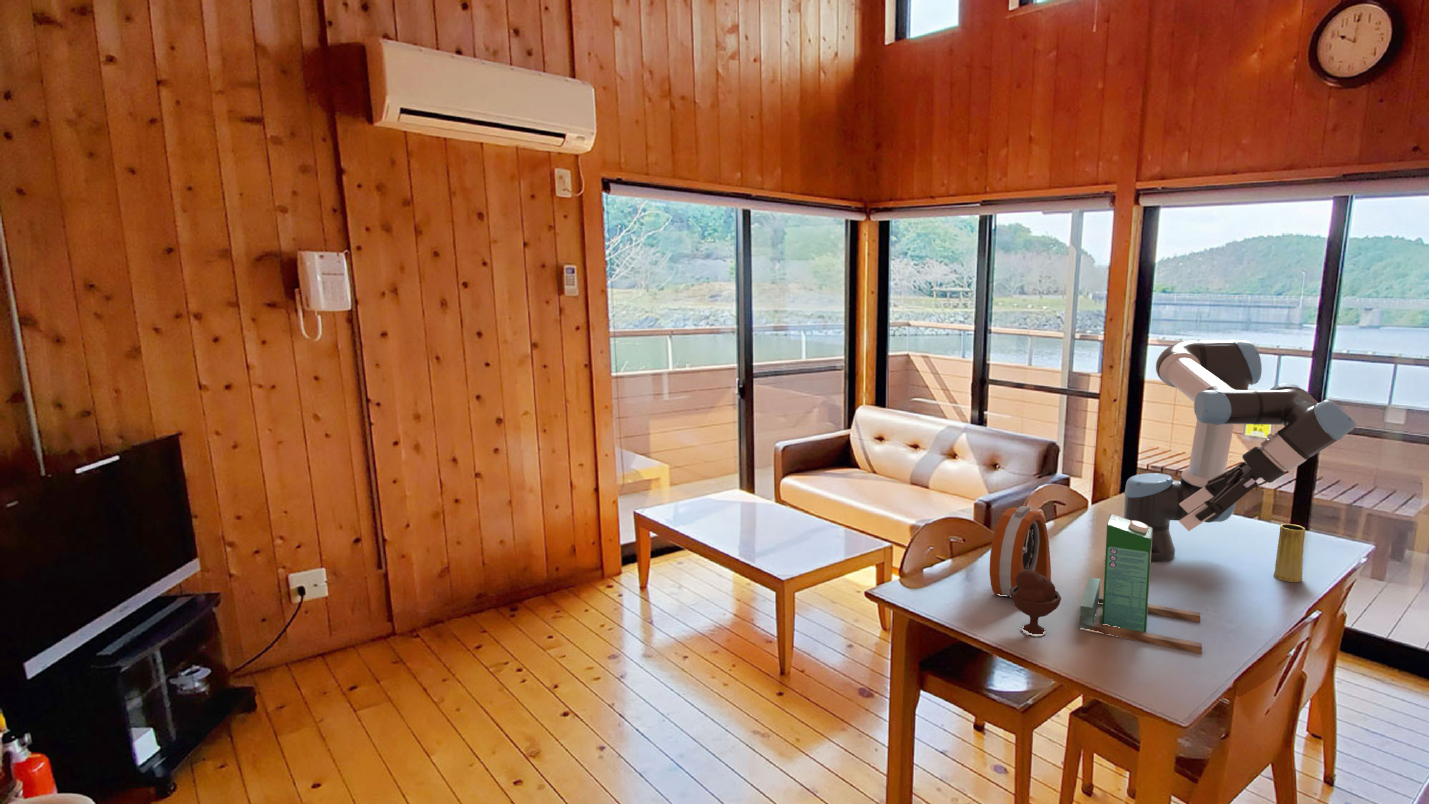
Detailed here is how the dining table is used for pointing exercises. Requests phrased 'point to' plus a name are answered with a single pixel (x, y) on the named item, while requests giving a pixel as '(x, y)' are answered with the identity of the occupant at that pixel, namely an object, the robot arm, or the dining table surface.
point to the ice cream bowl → (1034, 597)
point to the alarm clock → (1018, 548)
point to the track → (1087, 620)
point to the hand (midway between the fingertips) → (1183, 517)
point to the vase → (1290, 553)
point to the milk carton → (1127, 573)
